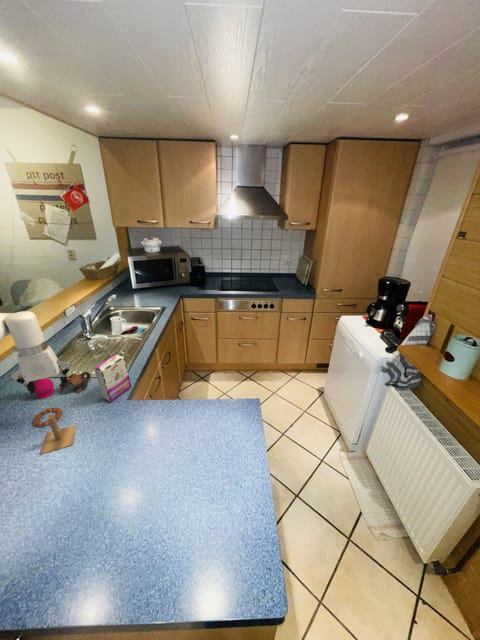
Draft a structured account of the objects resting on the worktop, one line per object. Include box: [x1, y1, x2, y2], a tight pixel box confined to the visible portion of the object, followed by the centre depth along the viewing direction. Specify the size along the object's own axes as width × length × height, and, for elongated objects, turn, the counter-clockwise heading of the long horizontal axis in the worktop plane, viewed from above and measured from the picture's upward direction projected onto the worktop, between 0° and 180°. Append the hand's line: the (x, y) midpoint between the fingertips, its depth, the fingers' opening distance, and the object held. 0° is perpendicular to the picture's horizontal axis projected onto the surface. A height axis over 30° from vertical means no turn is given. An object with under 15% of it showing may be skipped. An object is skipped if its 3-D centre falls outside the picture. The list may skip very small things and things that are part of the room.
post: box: [39, 414, 77, 456], centre depth 84 cm, size 9×9×12 cm
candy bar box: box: [93, 354, 132, 403], centre depth 106 cm, size 11×5×16 cm, turn 154°
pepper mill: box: [33, 377, 55, 400], centre depth 103 cm, size 7×7×20 cm
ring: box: [32, 407, 64, 429], centre depth 95 cm, size 9×9×2 cm
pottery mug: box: [58, 371, 92, 394], centre depth 111 cm, size 12×10×8 cm
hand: (49, 387), depth 91 cm, fingers open, 9 cm apart
